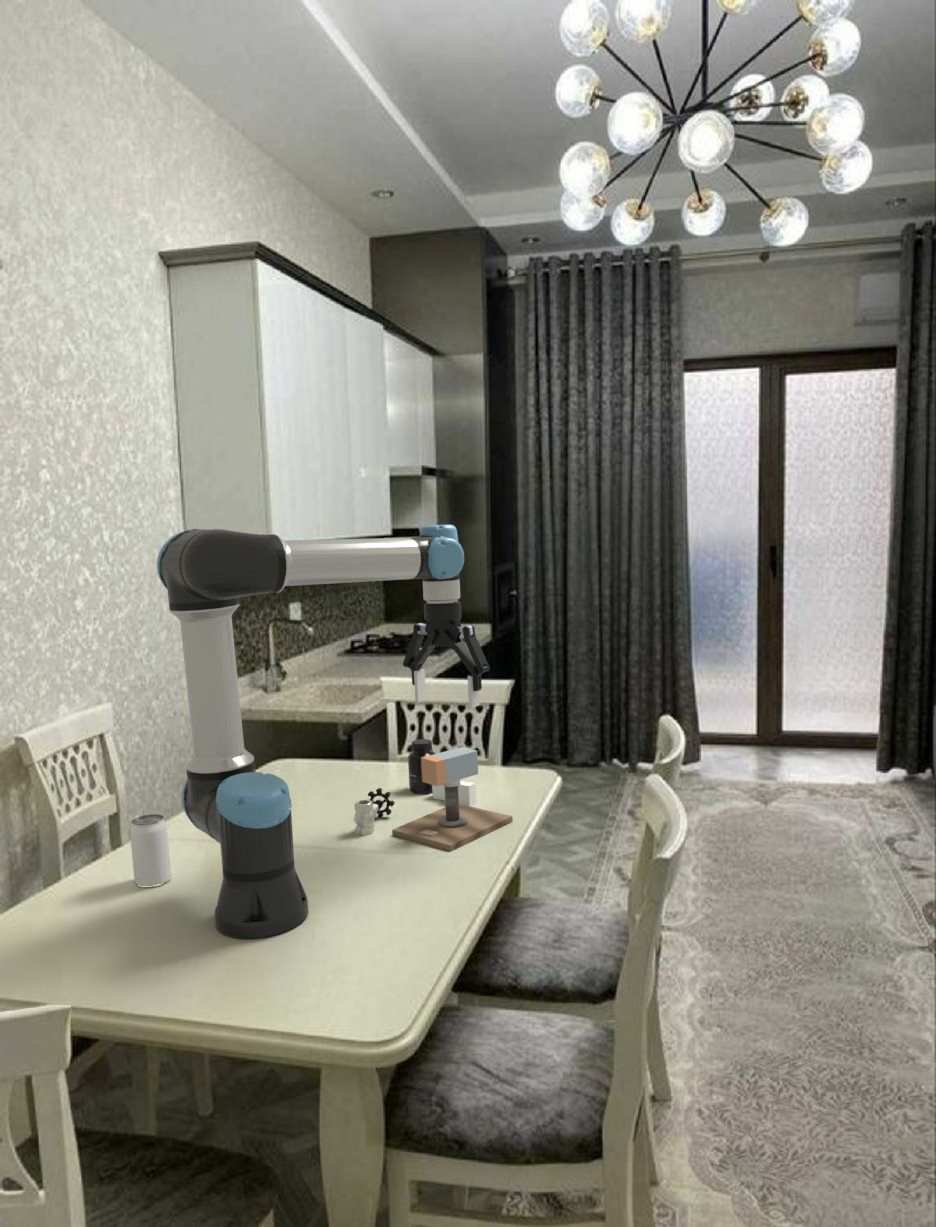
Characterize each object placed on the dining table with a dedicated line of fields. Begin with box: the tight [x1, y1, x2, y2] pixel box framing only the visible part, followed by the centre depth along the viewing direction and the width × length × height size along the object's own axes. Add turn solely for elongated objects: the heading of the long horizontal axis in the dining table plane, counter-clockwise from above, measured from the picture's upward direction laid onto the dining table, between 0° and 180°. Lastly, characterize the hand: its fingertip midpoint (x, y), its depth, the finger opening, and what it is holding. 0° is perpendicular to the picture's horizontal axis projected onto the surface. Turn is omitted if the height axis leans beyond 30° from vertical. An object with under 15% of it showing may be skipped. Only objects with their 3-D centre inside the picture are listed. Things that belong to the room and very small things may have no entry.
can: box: [129, 813, 172, 886], centre depth 169 cm, size 6×6×12 cm
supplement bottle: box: [407, 738, 436, 795], centre depth 217 cm, size 7×7×12 cm
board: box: [391, 786, 514, 852], centre depth 190 cm, size 20×16×9 cm
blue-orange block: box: [421, 746, 479, 787], centre depth 189 cm, size 5×11×6 cm, turn 131°
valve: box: [354, 787, 396, 836], centre depth 194 cm, size 7×7×12 cm
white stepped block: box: [432, 780, 477, 807], centre depth 209 cm, size 15×11×6 cm
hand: (447, 703), depth 187 cm, fingers open, 13 cm apart
